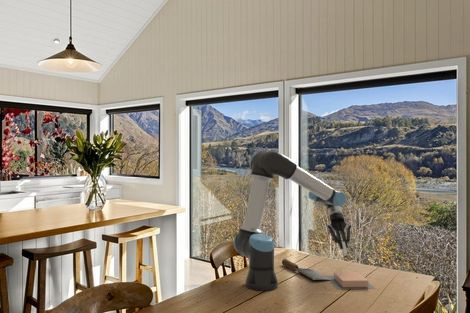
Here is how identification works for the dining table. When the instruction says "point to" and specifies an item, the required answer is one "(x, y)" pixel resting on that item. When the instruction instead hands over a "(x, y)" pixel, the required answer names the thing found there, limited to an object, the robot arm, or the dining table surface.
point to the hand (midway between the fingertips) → (345, 254)
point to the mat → (346, 288)
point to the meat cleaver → (305, 271)
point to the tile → (351, 279)
